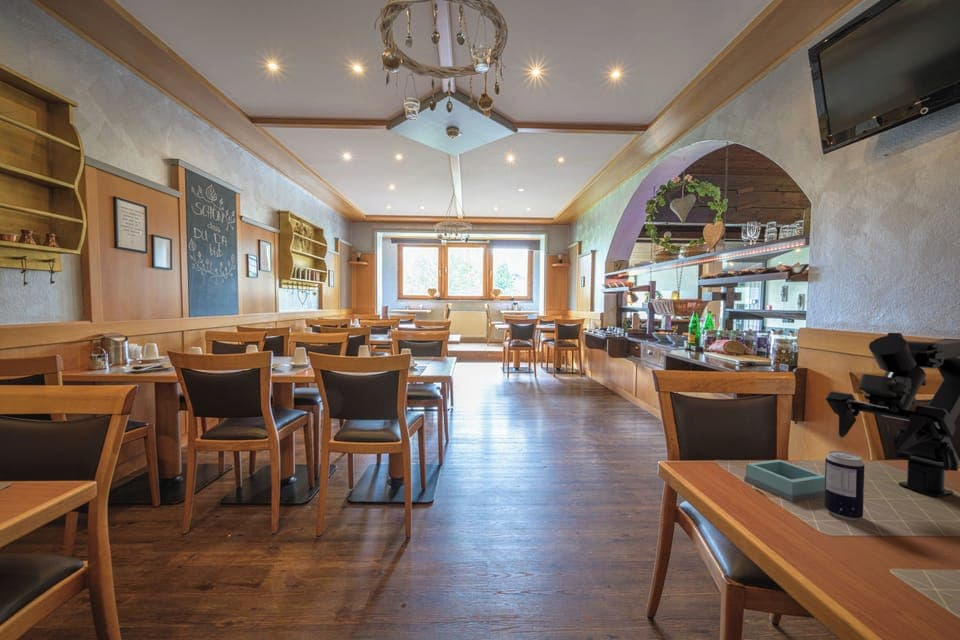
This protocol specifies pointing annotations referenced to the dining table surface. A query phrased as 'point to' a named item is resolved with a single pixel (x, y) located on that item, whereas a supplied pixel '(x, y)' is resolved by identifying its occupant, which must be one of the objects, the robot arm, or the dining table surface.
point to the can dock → (786, 480)
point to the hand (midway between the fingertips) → (867, 442)
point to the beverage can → (844, 485)
